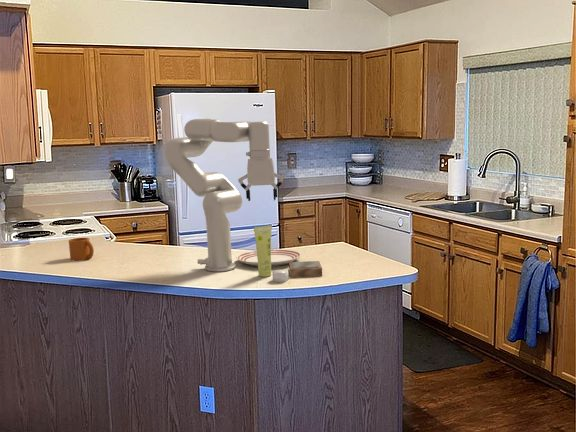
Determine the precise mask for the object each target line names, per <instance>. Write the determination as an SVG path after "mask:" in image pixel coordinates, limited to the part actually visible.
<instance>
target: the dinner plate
mask: <svg viewBox="0 0 576 432" xmlns="http://www.w3.org/2000/svg"><path fill="white" fill-rule="evenodd" d="M301 256H302V253H301V252H299V251H297V250H290V249H283V248H282V249H281V248H280V249H279V248H278V249H277V248H276V249H274V248H273V249H272V248H271V268H272V267H279V266H284V265H288V264H289V262H295V261H296V260H298V259H299V258H300V257H301ZM236 260H238V261H239V262H240V263H243V264H246V265H249V266H253V267H257V268H258V259H257V250H251V251H246V252H243V253H240V254H238V255H237V256H236Z"/></svg>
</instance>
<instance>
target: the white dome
mask: <svg viewBox="0 0 576 432" xmlns="http://www.w3.org/2000/svg"><path fill="white" fill-rule="evenodd" d="M289 275H290V274H289V270H288V269H274V270H272V271H271V276H272V282H274V283H278V282H281V283H287V282H289V281H288V280H289V279H290V278H289ZM286 281H287V282H286Z"/></svg>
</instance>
